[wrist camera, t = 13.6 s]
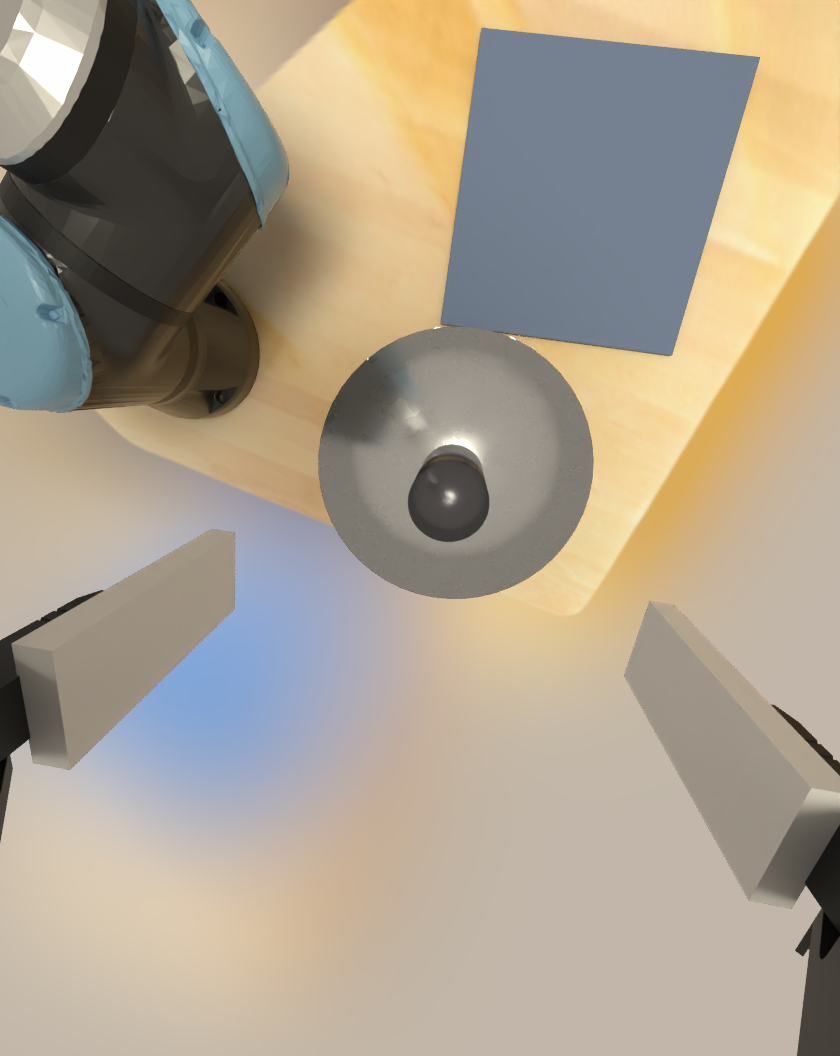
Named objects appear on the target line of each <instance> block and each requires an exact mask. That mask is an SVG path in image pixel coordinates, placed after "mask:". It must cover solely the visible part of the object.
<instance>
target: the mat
mask: <svg viewBox="0 0 840 1056" xmlns="http://www.w3.org/2000/svg"><path fill="white" fill-rule="evenodd" d="M759 60H760V57H753V56H743V55H734V54H725V53H715V52H706V51H696V50H687V49H677V48H668V47H658V46H649V45H639V44H630V43H620V42H611V41H601V40H592V39H582V38H573V37H563V36H554V35H545V34H535V33H526V32H516V31H507V30H497V29H488V28H482V29H481V36H480V43H479V50H478V58H477V65H476V72H475V79H474V87H473V94H472V101H471V108H470V116H469V123H468V130H467V137H466V145H465V152H464V159H463V166H462V174H461V181H460V188H459V195H458V203H457V210H456V217H455V224H454V232H453V239H452V246H451V253H450V261H449V268H448V275H447V282H446V290H445V297H444V304H443V311H442V319H441V324H442V325H449V326H457V327H472V328H479V329H484V330H489V331H494V332H500V333H507V334H514V335H522V336H529V337H536V338H543V339H551V340H558V341H565V342H573V343H580V344H587V345H594V346H602V347H609V348H616V349H623V350H631V351H638V352H645V353H653V354H660V355H667V356H671V355H672V353H673V350H674V347H675V343H676V340H677V337H678V333H679V330H680V326H681V323H682V320H683V316H684V313H685V310H686V306H687V303H688V299H689V296H690V293H691V289H692V286H693V283H694V279H695V276H696V272H697V269H698V266H699V262H700V259H701V256H702V252H703V249H704V245H705V242H706V239H707V235H708V232H709V228H710V225H711V222H712V218H713V215H714V212H715V208H716V205H717V201H718V198H719V195H720V191H721V188H722V185H723V181H724V178H725V174H726V171H727V168H728V164H729V161H730V158H731V154H732V151H733V147H734V144H735V141H736V137H737V134H738V131H739V127H740V124H741V120H742V117H743V114H744V110H745V107H746V103H747V100H748V97H749V93H750V90H751V87H752V83H753V80H754V76H755V73H756V70H757V66H758V63H759Z"/></svg>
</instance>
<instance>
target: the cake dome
mask: <svg viewBox="0 0 840 1056" xmlns="http://www.w3.org/2000/svg"><path fill="white" fill-rule="evenodd" d="M592 477H593V448H592V440H591V435H590V431H589V426H588V422H587V420H586V417H585V414H584V412H583V409H582V406H581V404H580V402H579V401H578V399H577V397H576V395H575V393H574V392H573V390H572V388H571V387H570V385H569V384H568V383H567V381H566V380H565V379H564V377H563V376H562V375H561V373H560V372H559V371H558V370H557V369H556V368H555V367H554V366H553V365H552V364H551V363H550V362H549V361H548V360H546V359H545V358H544V357H542V356H541V355H540V354H538V353H537V352H536V351H534V350H533V349H532V348H530V347H528V346H526V345H525V344H523V343H521V342H519V341H517V340H516V339H514V338H513V337H508V336H505V335H502V334H500V333H497V332H494V331H489V330H484V329H479V328H472V327H457V326H455V327H442V328H440V327H436V328H433V329H429V330H425V331H420V332H416V333H414V334H411V335H408V336H406V337H403V338H400V339H398V340H396V341H394V342H393V343H391V344H389V345H387V346H385V347H383V348H382V349H380V350H379V351H378V352H376V353H375V354H374V355H372V356H371V357H369V358H368V359H367V360H366V361H365V362H364V363H363V364H362V365H361V366H360V367H359V368H358V369H356V370H355V371H354V372H353V374H352V375H351V376H350V377H349V379H348V380H347V381H346V383H345V384H344V385H343V386H342V388H341V389H340V391H339V393H338V395H337V396H336V398H335V400H334V402H333V403H332V406H331V408H330V410H329V413H328V415H327V418H326V420H325V424H324V428H323V431H322V435H321V440H320V448H319V479H320V487H321V492H322V496H323V500H324V503H325V507H326V509H327V512H328V514H329V517H330V519H331V522H332V523H333V525H334V527H335V529H336V531H337V532H338V534H339V536H340V537H341V539H342V540H343V542H344V543H345V544H346V546H347V547H348V548H349V550H350V551H351V552H352V553H353V554H354V555H355V556H356V557H357V558H358V559H359V560H360V561H361V562H362V563H363V564H364V565H366V566H367V567H368V568H369V569H370V570H371V571H373V572H374V573H375V574H377V575H378V576H380V577H382V578H383V579H385V580H386V581H388V582H390V583H392V584H394V585H396V586H398V587H400V588H402V589H405V590H408V591H411V592H414V593H417V594H421V595H425V596H430V597H437V598H447V599H466V598H473V597H480V596H484V595H489V594H493V593H497V592H499V591H502V590H505V589H507V588H510V587H512V586H514V585H516V584H518V583H520V582H522V581H524V580H526V579H528V578H529V577H530V576H532V575H533V574H535V573H536V572H538V571H539V570H540V569H542V568H543V567H544V566H545V565H546V564H547V563H548V562H550V561H551V560H552V559H553V558H554V557H555V556H556V555H557V554H558V552H559V551H560V550H561V549H562V548H563V547H564V545H565V544H566V543H567V541H568V540H569V538H570V537H571V535H572V534H573V532H574V531H575V529H576V527H577V525H578V523H579V521H580V519H581V517H582V515H583V513H584V510H585V507H586V504H587V501H588V498H589V494H590V489H591V483H592Z"/></svg>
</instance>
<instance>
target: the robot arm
mask: <svg viewBox="0 0 840 1056" xmlns="http://www.w3.org/2000/svg"><path fill="white" fill-rule="evenodd" d="M0 166H1V167H2V168H4V169H6V170H7V172H6V174H5V176H4V178H3V180H2V182H1V183H0V405H1V406H5V407H9V408H13V409H19V410H47V411H51V412H58V413H65V412H71V411H75V410H86V409H100V408H112V407H125V406H137V405H147V406H150V407H152V408H155V409H157V410H159V411H162V412H164V413H166V414H169V415H172V416H176V417H181V418H188V419H199V418H207V417H214V416H218V415H221V414H224V413H226V412H228V411H230V410H231V409H233V408H234V407H236V406H237V405H238V404H239V403H240V402H241V401H242V400H243V399H244V398H245V397H246V395H247V394H248V392H249V391H250V389H251V387H252V385H253V383H254V380H255V378H256V374H257V370H258V364H259V344H258V338H257V333H256V330H255V326H254V324H253V321H252V319H251V316H250V314H249V312H248V310H247V309H246V307H245V305H244V304H243V302H242V301H241V300H240V298H239V297H238V296H237V295H236V293H235V292H234V291H233V290H232V289H231V288H230V287H229V286H227V285H226V284H225V283H224V282H222V281H221V280H220V278H221V277H222V275H223V274H224V273H225V271H226V270H227V269H228V267H229V266H230V265H231V263H232V262H233V261H234V259H235V258H236V257H237V255H238V254H239V253H240V251H241V250H242V249H243V247H244V246H245V245H246V243H247V242H248V241H249V239H250V238H251V237H252V235H253V234H254V233H255V231H256V230H257V229H259V230H261V229H263V227H264V226H265V223H266V219H267V216H268V214H269V213H270V211H271V210H272V208H273V207H274V205H275V204H276V202H277V201H278V199H279V198H280V196H281V195H282V194H283V192H284V190H285V189H286V186H287V184H288V180H289V164H288V160H287V155H286V152H285V149H284V147H283V144H282V142H281V140H280V138H279V136H278V134H277V132H276V130H275V128H274V127H273V125H272V123H271V121H270V119H269V118H268V116H267V114H266V113H265V111H264V109H263V108H262V106H261V104H260V103H259V101H258V99H257V98H256V96H255V95H254V93H253V91H252V90H251V88H250V87H249V85H248V84H247V82H246V80H245V79H244V77H243V76H242V74H241V73H240V72H239V70H238V68H237V67H236V65H235V64H234V62H233V61H232V59H231V58H230V56H229V55H228V53H227V52H226V50H225V49H224V48H223V46H222V45H221V43H220V42H219V41H218V40H217V39H216V38H215V37H214V36H213V35H212V34H211V32H210V30H209V27H208V26H207V24H206V23H205V22H204V20H203V19H202V18H201V16H200V15H199V13H198V12H197V10H196V8H195V7H194V5H193V4H192V2H191V1H190V0H0ZM234 609H235V533H233V532H227V531H221V530H215V529H211V530H209V531H208V532H206V533H204V534H202V535H201V536H199V537H197V538H196V539H194V540H192V541H190V542H188V543H187V544H185V545H183V546H181V547H180V548H178V549H176V550H174V551H173V552H171V553H169V554H167V555H166V556H164V557H162V558H160V559H159V560H157V561H155V562H153V563H152V564H150V565H148V566H146V567H145V568H143V569H141V570H139V571H138V572H136V573H134V574H132V575H131V576H129V577H127V578H125V579H124V580H122V581H120V582H119V583H117V584H115V585H113V586H111V587H110V588H108V589H106V590H105V591H103V590H101V591H98V592H94V593H91V594H88V595H85V596H82V597H79V598H76V599H75V600H73V601H71V602H69V603H67V604H65V605H64V606H62V607H60V608H58V609H57V611H53V612H51V613H49V614H47V615H45V616H44V617H42V618H41V620H40V621H38V620H37V621H35V622H33V623H31V624H29V625H27V626H26V627H24V628H22V629H20V630H18V631H17V632H15V633H13V634H11V635H9V636H7V637H5V638H4V639H2V640H0V840H1V834H2V829H3V823H4V817H5V811H6V805H7V799H8V793H9V787H10V781H11V775H12V769H13V767H12V762H11V758H10V754H11V753H12V752H14V751H15V750H16V749H17V748H18V747H20V746H21V745H22V744H23V743H25V742H26V741H27V740H28V739H29V743H30V749H31V755H32V760H33V763H36V764H41V765H46V766H52V767H57V768H62V769H67V770H70V769H71V768H72V767H73V766H74V765H75V764H77V763H78V762H79V761H80V759H82V757H84V756H85V755H86V754H87V753H88V752H89V751H90V750H91V749H92V748H93V747H94V746H95V745H96V744H97V743H98V742H99V741H100V740H101V739H102V738H103V737H104V736H105V735H106V734H107V733H108V732H109V731H110V730H111V729H112V728H113V727H114V726H115V725H116V724H117V723H118V722H119V721H121V720H122V719H123V718H124V717H125V716H126V715H127V714H128V713H129V712H130V711H131V710H132V709H133V708H134V707H135V706H136V705H137V704H138V703H139V702H140V701H141V700H142V699H143V698H144V697H145V696H146V695H147V694H148V693H149V692H150V691H151V690H152V689H153V688H154V687H155V686H156V685H157V684H158V683H159V682H160V681H161V680H162V679H163V678H164V677H165V676H166V675H168V673H170V672H171V671H172V670H173V669H174V668H175V667H176V666H177V665H178V664H179V663H180V662H181V661H182V660H183V659H184V658H185V657H186V656H187V655H188V654H189V653H190V652H191V651H192V650H193V649H194V648H195V647H196V646H197V645H198V644H199V643H200V642H201V641H202V640H203V639H204V638H205V637H206V636H207V635H208V634H209V633H210V632H211V631H212V630H213V629H215V628H216V627H217V626H218V625H219V624H220V623H221V622H222V621H223V620H224V619H225V618H226V617H227V616H228V615H229V614H230V613H231V612H232V611H233V610H234ZM624 677H625V679H626V680H627V682H628V684H629V686H630V688H631V690H632V691H633V693H634V695H635V697H636V698H637V700H638V702H639V704H640V706H641V708H642V709H643V711H644V713H645V715H646V717H647V718H648V720H649V722H650V724H651V726H652V727H653V729H654V731H655V733H656V735H657V736H658V738H659V740H660V742H661V744H662V745H663V747H664V749H665V751H666V753H667V754H668V756H669V758H670V760H671V762H672V763H673V765H674V767H675V769H676V770H677V772H678V774H679V776H680V778H681V780H682V781H683V783H684V785H685V787H686V789H687V790H688V792H689V794H690V796H691V797H692V799H693V801H694V803H695V805H696V806H697V808H698V810H699V812H700V813H701V815H702V817H703V819H704V821H705V823H706V824H707V826H708V828H709V830H710V832H711V833H712V835H713V837H714V839H715V840H716V842H717V844H718V846H719V848H720V850H721V851H722V853H723V855H724V857H725V859H726V860H727V862H728V864H729V866H730V868H731V869H732V871H733V873H734V875H735V877H736V878H737V880H738V882H739V884H740V886H741V887H742V889H743V891H744V893H745V894H746V896H747V898H748V900H749V901H753V902H758V903H763V904H768V905H773V906H779V907H784V908H789V909H792V907H793V906H794V904H795V902H796V901H797V899H798V897H799V896H800V894H801V893H802V891H803V889H804V887H805V886H807V887H808V889H809V890H810V892H811V893H812V895H813V896H814V898H815V899H816V900H817V902H818V903H819V905H820V906H821V908H822V909H821V911H820V912H819V913H818V915H817V917H816V918H815V920H814V921H813V923H812V924H811V926H810V928H809V929H808V931H807V933H806V934H805V936H804V937H803V939H802V940H801V942H800V943H799V945H798V947H797V948H796V950H795V951H796V952H798V953H799V954H800V955H802V956H804V954H805V953H806V951H807V950H808V949H810V951H809V959H808V968H807V977H806V986H805V994H804V1001H803V1010H802V1018H801V1027H800V1036H799V1044H798V1052H797V1056H840V763H839V762H838V761H837V760H833V756H832V755H831V754H830V753H829V752H828V751H827V750H826V749H825V748H824V747H823V746H822V745H821V744H818V743H817V740H816V739H815V738H814V737H813V736H812V735H811V734H810V733H809V732H808V731H807V730H806V729H805V728H804V727H803V726H802V725H801V724H800V723H799V722H798V721H796V720H795V719H793V718H792V717H791V716H789V715H788V714H786V713H785V712H784V711H782V710H781V709H779V708H778V707H776V706H775V705H771V704H770V703H769V702H768V701H767V700H766V699H765V698H764V697H763V696H762V695H761V694H760V693H759V692H758V691H757V690H756V689H755V688H754V687H753V686H752V685H751V684H750V683H749V682H748V681H747V680H746V679H745V677H744V676H743V675H742V674H741V673H740V672H739V671H738V670H737V669H736V668H735V667H734V666H733V665H732V664H731V663H730V662H729V661H728V660H727V659H726V658H725V657H724V656H723V655H722V654H721V653H720V652H719V651H718V650H717V649H716V648H715V646H714V645H713V644H712V643H711V642H710V641H709V640H708V639H707V638H706V637H705V636H704V635H703V634H702V633H701V632H700V631H699V630H698V629H697V628H696V627H695V626H694V625H693V624H692V623H691V622H690V621H689V620H688V618H687V617H685V615H684V614H683V613H682V612H681V611H680V610H679V609H678V608H677V607H676V606H675V605H670V604H664V603H658V602H652V601H649V604H648V607H647V609H646V613H645V615H644V619H643V621H642V624H641V627H640V630H639V633H638V636H637V639H636V642H635V645H634V648H633V651H632V654H631V657H630V659H629V662H628V666H627V668H626V671H625V674H624Z"/></svg>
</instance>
